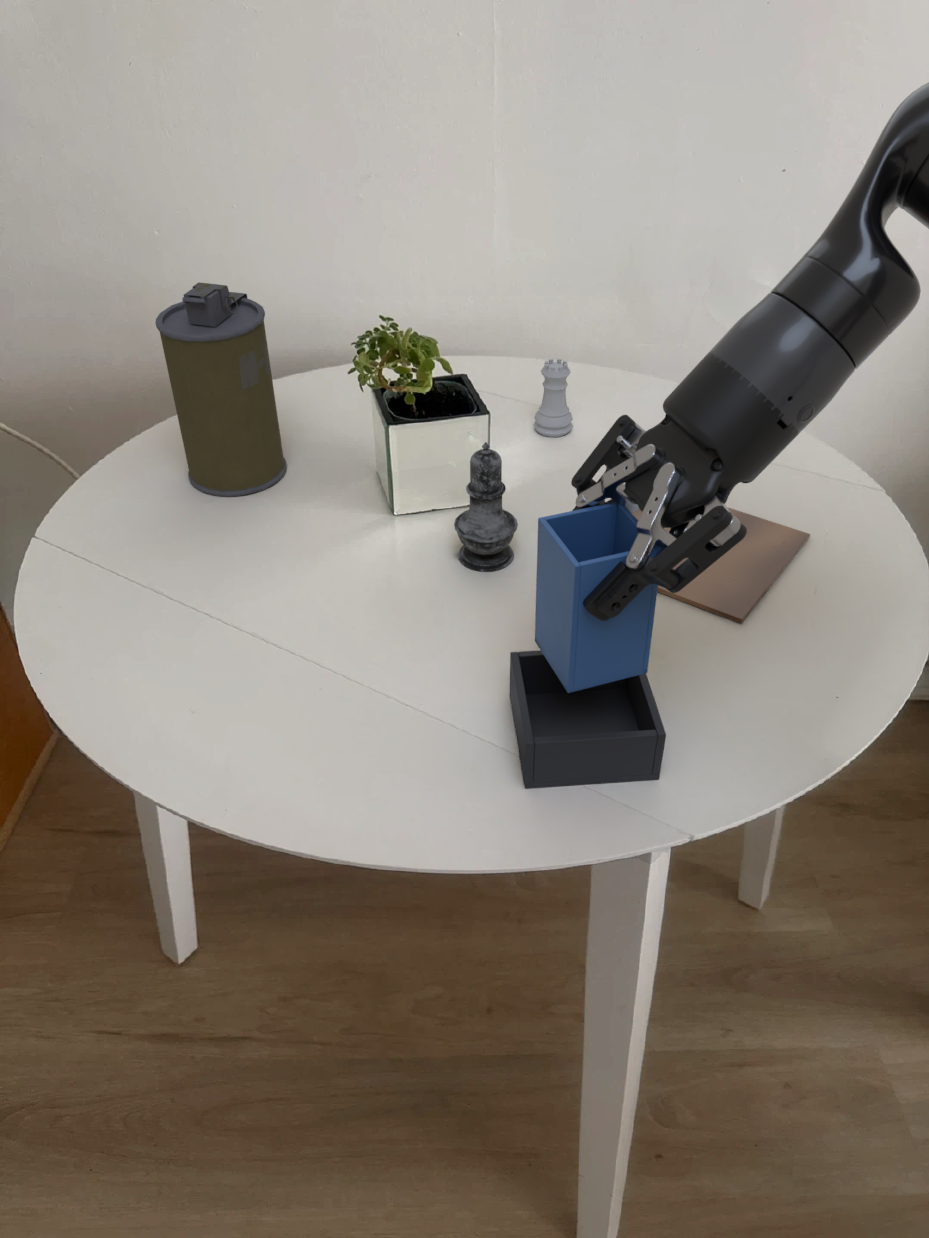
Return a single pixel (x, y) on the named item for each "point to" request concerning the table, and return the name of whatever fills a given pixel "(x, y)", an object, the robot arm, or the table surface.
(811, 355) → the robot arm
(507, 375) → the table surface
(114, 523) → the table surface
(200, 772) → the table surface
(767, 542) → the cork mat
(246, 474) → the canister
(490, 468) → the dark grey tall piece
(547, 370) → the rook chess piece
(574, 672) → the blue bin
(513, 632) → the table surface
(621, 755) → the black bin
